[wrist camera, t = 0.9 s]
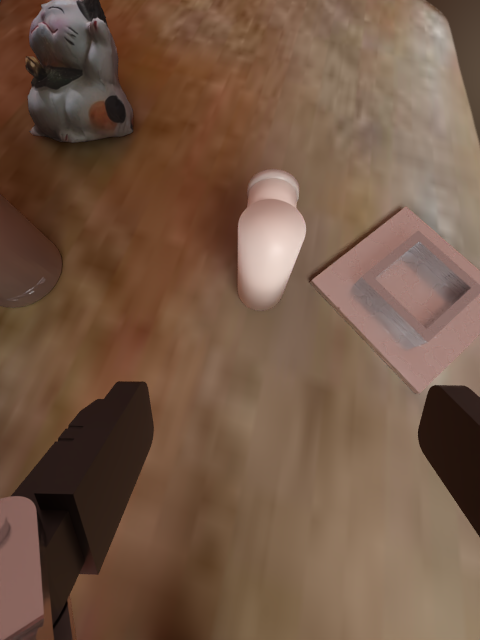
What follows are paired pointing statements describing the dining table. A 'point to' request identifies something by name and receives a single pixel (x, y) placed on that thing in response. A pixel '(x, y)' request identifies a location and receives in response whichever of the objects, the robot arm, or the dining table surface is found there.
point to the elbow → (268, 238)
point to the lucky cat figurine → (75, 75)
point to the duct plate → (407, 297)
